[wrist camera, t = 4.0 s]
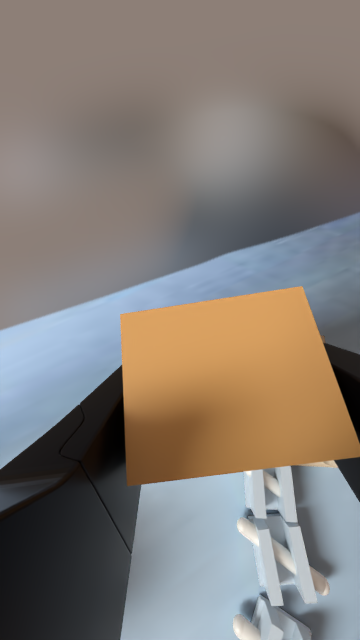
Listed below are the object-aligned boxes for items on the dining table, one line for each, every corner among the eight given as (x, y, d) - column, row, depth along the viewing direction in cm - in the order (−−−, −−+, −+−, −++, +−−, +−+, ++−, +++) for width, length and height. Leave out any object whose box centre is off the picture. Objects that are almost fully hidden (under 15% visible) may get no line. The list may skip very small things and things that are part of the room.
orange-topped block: (252, 416, 14) (364, 456, 5) (175, 427, 14) (127, 486, 5) (239, 354, 15) (302, 286, 6) (168, 365, 15) (120, 314, 6)
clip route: (315, 456, 19) (329, 463, 17) (328, 713, 14) (349, 763, 12) (238, 443, 19) (242, 449, 17) (227, 683, 15) (231, 725, 13)
